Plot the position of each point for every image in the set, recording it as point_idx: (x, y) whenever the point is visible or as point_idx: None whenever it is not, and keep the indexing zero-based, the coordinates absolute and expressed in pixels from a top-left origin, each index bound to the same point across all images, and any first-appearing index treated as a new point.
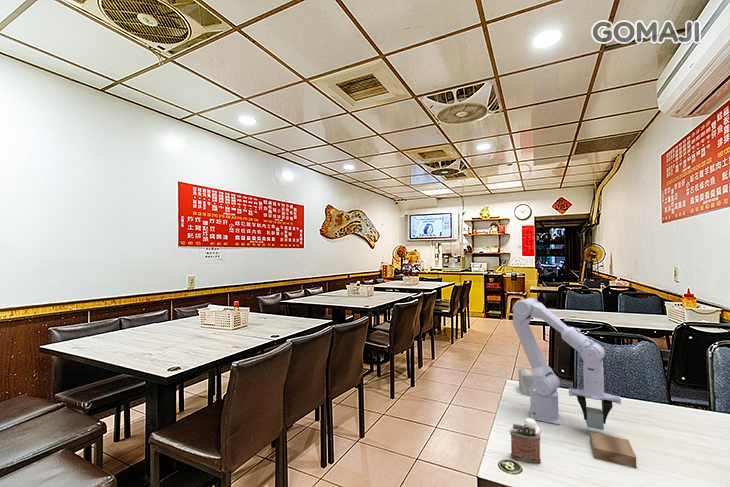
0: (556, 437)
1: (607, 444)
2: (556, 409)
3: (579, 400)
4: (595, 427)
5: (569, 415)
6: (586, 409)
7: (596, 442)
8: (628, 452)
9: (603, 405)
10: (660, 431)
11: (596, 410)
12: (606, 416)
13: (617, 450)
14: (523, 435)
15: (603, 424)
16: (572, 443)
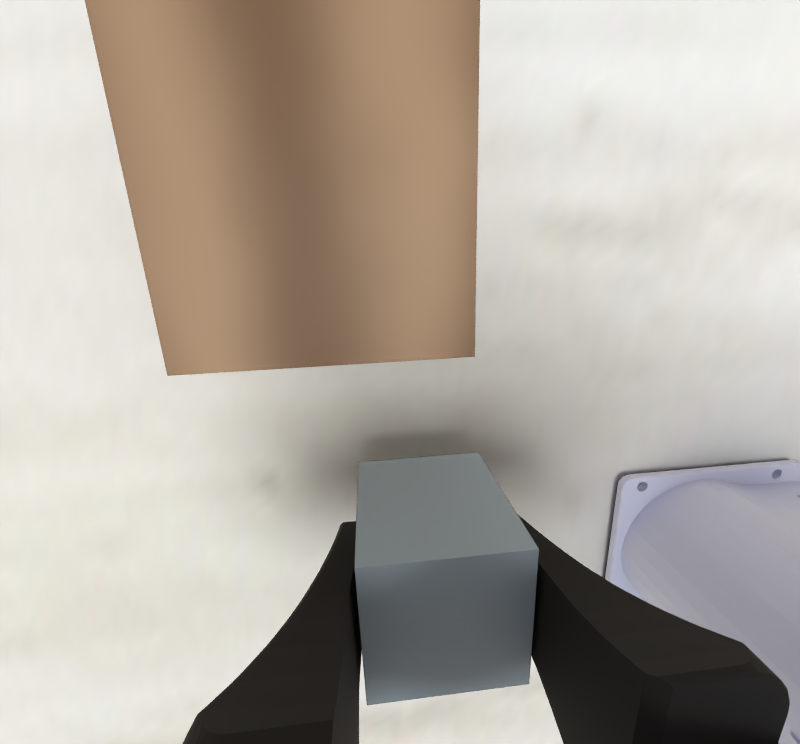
0: (674, 273)
1: (345, 160)
2: (715, 576)
3: (773, 682)
4: (420, 463)
5: None
6: (532, 614)
7: (441, 149)
8: (157, 72)
9: (341, 734)
10: (27, 717)
11: (422, 647)
12: (320, 577)
13: (259, 59)
14: None
15: (357, 493)
16: (578, 235)
